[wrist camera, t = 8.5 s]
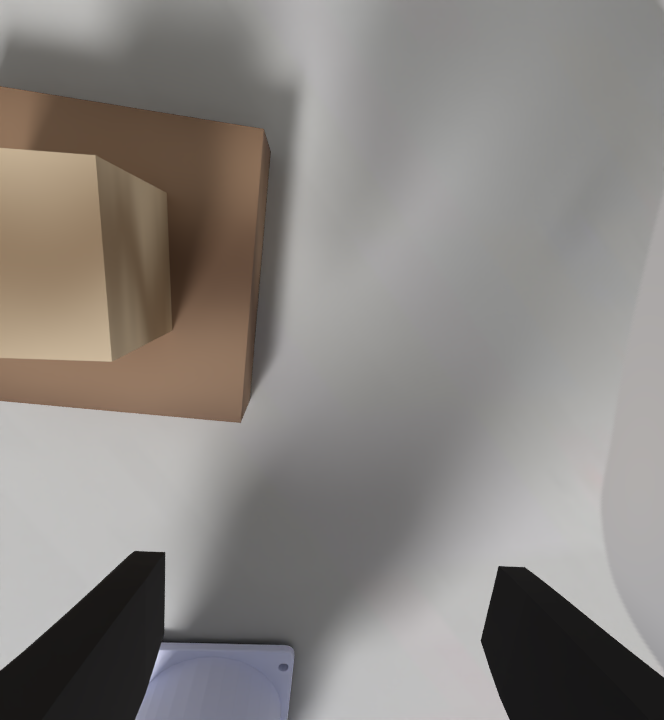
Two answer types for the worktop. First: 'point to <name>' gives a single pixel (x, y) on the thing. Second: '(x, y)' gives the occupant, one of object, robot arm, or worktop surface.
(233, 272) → the walnut block
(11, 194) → the oak cube
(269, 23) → the worktop surface
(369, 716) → the worktop surface
